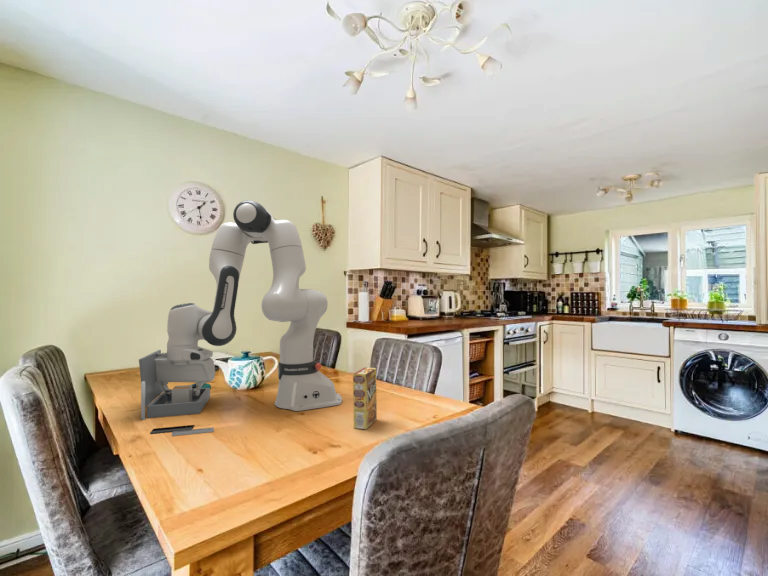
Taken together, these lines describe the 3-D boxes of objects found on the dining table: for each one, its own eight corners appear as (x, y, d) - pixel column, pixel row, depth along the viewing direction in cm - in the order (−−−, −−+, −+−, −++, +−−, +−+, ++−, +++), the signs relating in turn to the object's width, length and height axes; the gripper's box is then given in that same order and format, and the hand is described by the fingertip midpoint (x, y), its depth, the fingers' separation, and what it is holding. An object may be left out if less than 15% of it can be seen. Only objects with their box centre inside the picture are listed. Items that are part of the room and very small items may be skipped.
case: (210, 400, 129) (210, 366, 129) (198, 418, 110) (198, 378, 110) (161, 404, 125) (161, 368, 125) (140, 423, 106) (140, 382, 106)
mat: (198, 418, 111) (198, 416, 111) (191, 430, 101) (191, 428, 101) (161, 421, 108) (161, 420, 108) (150, 434, 98) (150, 432, 98)
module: (192, 403, 122) (192, 384, 122) (189, 407, 118) (189, 387, 118) (175, 404, 121) (175, 385, 121) (171, 408, 117) (171, 388, 117)
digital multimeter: (212, 390, 144) (212, 383, 144) (178, 401, 130) (178, 392, 130) (199, 388, 146) (199, 381, 146) (163, 399, 133) (163, 390, 133)
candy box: (366, 430, 101) (366, 374, 101) (352, 428, 102) (352, 373, 102) (377, 419, 109) (377, 367, 109) (363, 418, 110) (363, 366, 111)
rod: (213, 431, 101) (213, 427, 101) (213, 433, 100) (213, 428, 100) (173, 435, 98) (173, 431, 98) (171, 437, 97) (171, 432, 97)
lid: (160, 349, 125) (156, 350, 125) (141, 359, 108) (137, 359, 107) (164, 390, 125) (160, 391, 125) (146, 406, 108) (141, 407, 108)
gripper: (144, 354, 117) (144, 397, 117) (208, 355, 117) (207, 398, 117) (156, 351, 124) (156, 392, 124) (217, 351, 124) (217, 393, 123)
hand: (181, 395), depth 120 cm, fingers open, 8 cm apart
